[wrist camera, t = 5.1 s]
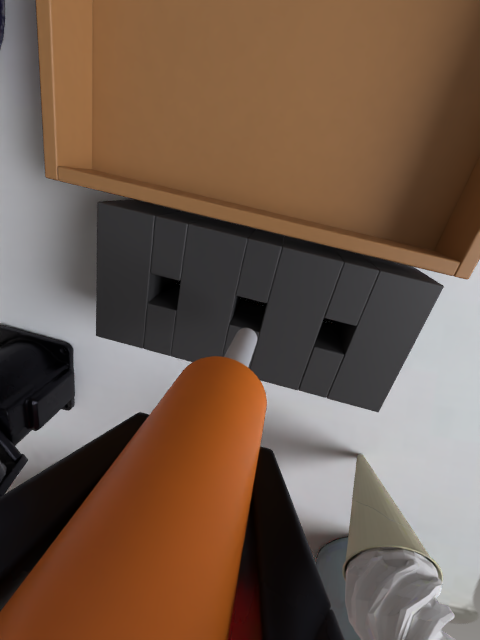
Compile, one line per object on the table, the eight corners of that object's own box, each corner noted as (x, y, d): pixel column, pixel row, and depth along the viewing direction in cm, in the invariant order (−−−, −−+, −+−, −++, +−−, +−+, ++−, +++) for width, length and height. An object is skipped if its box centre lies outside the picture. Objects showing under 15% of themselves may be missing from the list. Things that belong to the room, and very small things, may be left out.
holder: (128, 311, 22) (95, 336, 18) (134, 199, 19) (96, 201, 15) (363, 373, 21) (378, 412, 17) (413, 266, 18) (444, 286, 14)
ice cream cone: (331, 427, 23) (389, 771, 9) (402, 436, 22) (575, 821, 9) (322, 474, 25) (359, 815, 11) (387, 484, 24) (508, 858, 11)
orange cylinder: (211, 354, 14) (-84, 819, 3) (224, 300, 14) (-132, 694, 2) (267, 372, 14) (156, 938, 3) (285, 318, 13) (217, 856, 2)
